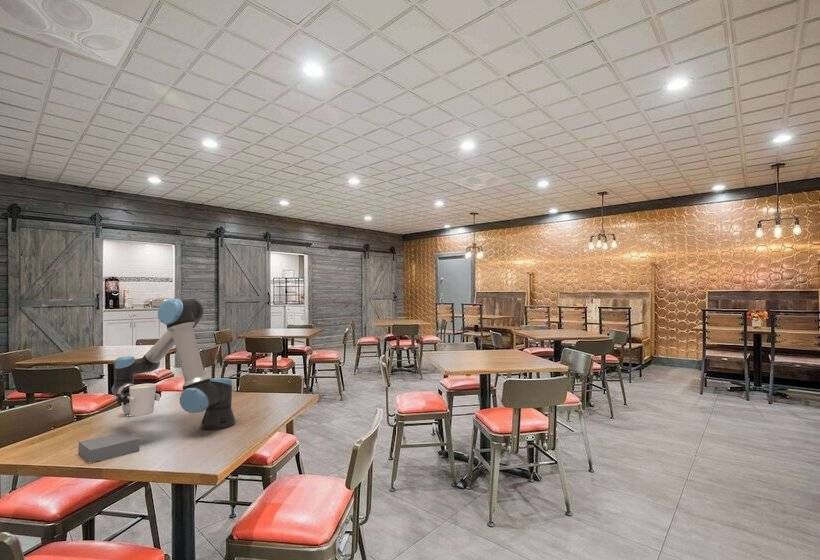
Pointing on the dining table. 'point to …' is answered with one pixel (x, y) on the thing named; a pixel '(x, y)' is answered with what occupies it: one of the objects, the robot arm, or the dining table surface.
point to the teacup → (126, 408)
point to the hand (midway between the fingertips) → (146, 400)
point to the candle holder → (142, 399)
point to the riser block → (108, 446)
